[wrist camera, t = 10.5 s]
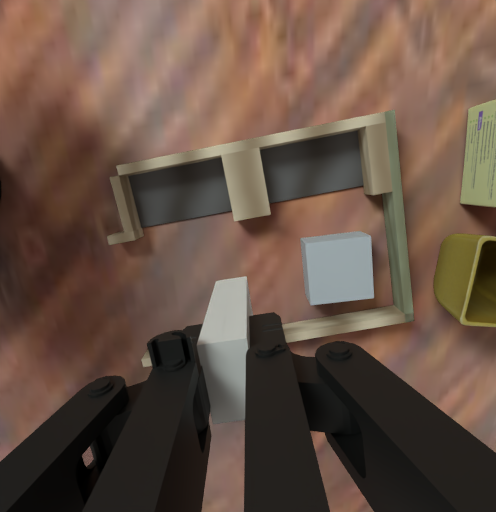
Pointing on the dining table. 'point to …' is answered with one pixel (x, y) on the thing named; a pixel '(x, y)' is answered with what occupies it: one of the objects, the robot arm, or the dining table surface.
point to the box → (480, 157)
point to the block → (337, 267)
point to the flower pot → (468, 278)
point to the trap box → (278, 195)
